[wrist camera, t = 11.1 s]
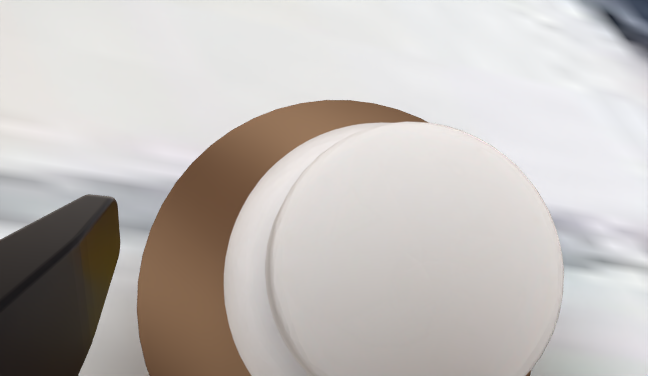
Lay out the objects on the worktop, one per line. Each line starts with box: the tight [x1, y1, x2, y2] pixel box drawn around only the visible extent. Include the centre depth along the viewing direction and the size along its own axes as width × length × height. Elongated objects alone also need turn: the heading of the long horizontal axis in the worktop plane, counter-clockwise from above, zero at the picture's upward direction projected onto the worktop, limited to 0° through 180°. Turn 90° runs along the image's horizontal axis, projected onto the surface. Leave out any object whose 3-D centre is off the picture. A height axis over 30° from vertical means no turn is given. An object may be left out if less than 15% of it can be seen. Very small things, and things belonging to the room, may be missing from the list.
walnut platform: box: [137, 100, 531, 376], centre depth 19 cm, size 12×12×3 cm
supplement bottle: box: [224, 122, 564, 376], centre depth 13 cm, size 6×6×10 cm
